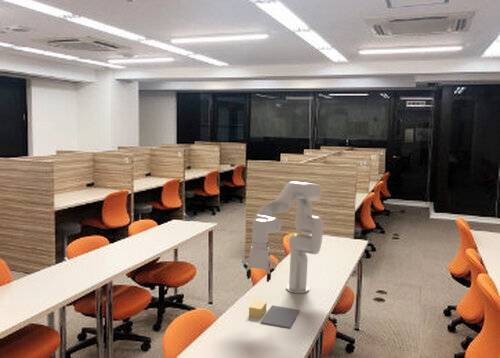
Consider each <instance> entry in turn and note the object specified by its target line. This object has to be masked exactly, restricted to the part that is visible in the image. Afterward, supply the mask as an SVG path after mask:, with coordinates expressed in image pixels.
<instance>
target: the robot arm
mask: <svg viewBox="0 0 500 358" xmlns="http://www.w3.org/2000/svg"><path fill="white" fill-rule="evenodd" d="M322 195H323V188H322V186H321V185H320V184H319V183H318V184H317V183H313V182H311V183H310V182H302V181H288V182H287V183H286V184H285V185H284V187H283V188H282V190H281V192H280V193H279V194H278V196H277V197H276V198H275V199H274V200H272V201H269V202H268V203H266V204H264V205H262V206H261V207H260V208H259V209H258V210H257V212H256V213H255V215H254V217H253V221H252V235H251V236H252V237H251V238H252V239H251V240H252V242H251V246H250V249H249V252H248V253H249V255H248V257H247V258H245V259H242V260H241V263H242V265H243V268H245V271H246V278H247V280H249V279H251V277H252V270H251V268H252V269H258V270H263V271H264V270H266V282H267V283H269V282H270V281H271V278H272V273H273V272H274V271H275V270H276V268H277V267H278V265H277V264H276V263H275V262H273V261H272V260H271V249H270V247H271V246H272V244H271V243H269V234H275V233H278V232H280V230H281V229H282V226H283V223H282V220H281V219H280V218H278V217H275V216H271V215H276V214H280V213H284V212H285V213H286V212H288V211H289V210H291V208H292V206H293V205H294V203H296V214H295V220H294V228H295V230H297V231H299V233H296V232H295V233H293V234H292V235H291V236H290V237H289V240H288V241H289V242H288V243H289V250H290V251H289V253H290V256H289V257H290V259H289V261H290V262H289V277H288V279H289V280H288V284H287V285H286V287H285V289H286V291H288V292H289V293H292V294H306V293H307V292H309V291H310V287H309V286H308V285H307V279H308V262H309V260H308V256H307V254H310V255H317V254H319V253H320V251H321V247H322V241H323V237H324V236H323V234H324V228H325V225H324V219H323V218H322V217H320V216H316V215H313V203H312V201H317V200H319V199H320V198H321V197H322ZM300 232H303V233H300ZM305 233H307V234H305ZM308 233H309V234H308ZM310 234H311V235H310ZM247 263H248V264H247ZM271 267H272V268H271Z"/></svg>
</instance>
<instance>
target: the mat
mask: <svg viewBox="0 0 500 358" xmlns="http://www.w3.org/2000/svg"><path fill="white" fill-rule="evenodd" d="M265 313H266V314H264V315H263V318H261V321H260V324H263V325H268V326H269V325H270V326H274V327H279V328H286V329H291V327H292V325H293V324H294V322H295V320H296V319H297V316H298V315H299V313H300V309H297V308H291V307H283V306H278V305H271V306H270V307H269V309H268V310H267V311H266V312H265Z"/></svg>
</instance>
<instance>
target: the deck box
mask: <svg viewBox="0 0 500 358" xmlns="http://www.w3.org/2000/svg"><path fill="white" fill-rule="evenodd" d="M266 312H267V301H264V300H263V301H261V300H253V302H252V303H251V304H250V305H249V307H248V316H249V317H254V318H259V319H262V317H264V315H265V313H266Z"/></svg>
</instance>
